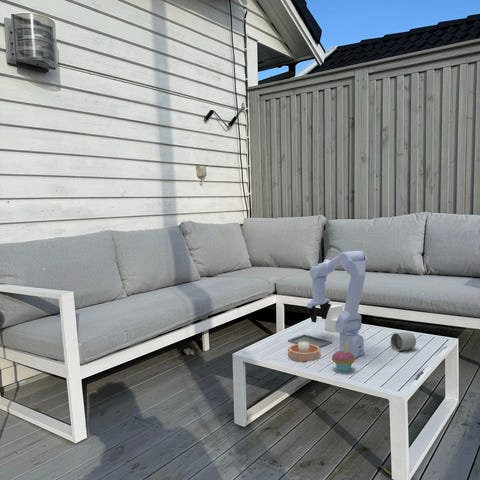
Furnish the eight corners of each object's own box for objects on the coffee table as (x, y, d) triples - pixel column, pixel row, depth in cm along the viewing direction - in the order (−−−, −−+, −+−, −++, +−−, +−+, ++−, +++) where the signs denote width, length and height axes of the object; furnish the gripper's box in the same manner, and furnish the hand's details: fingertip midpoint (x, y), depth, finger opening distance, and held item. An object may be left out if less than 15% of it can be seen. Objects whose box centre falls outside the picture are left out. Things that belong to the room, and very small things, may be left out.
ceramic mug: (417, 350, 192) (417, 332, 192) (402, 353, 189) (402, 335, 189) (400, 343, 202) (400, 327, 202) (385, 346, 199) (385, 329, 199)
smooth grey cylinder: (311, 354, 188) (311, 343, 187) (304, 357, 185) (304, 345, 184) (303, 352, 191) (303, 340, 191) (296, 354, 188) (295, 342, 188)
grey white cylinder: (334, 333, 220) (334, 309, 219) (321, 329, 227) (321, 305, 226) (347, 330, 225) (347, 306, 224) (334, 326, 232) (334, 303, 231)
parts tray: (332, 344, 203) (332, 341, 203) (315, 350, 195) (315, 347, 195) (304, 337, 215) (304, 334, 215) (287, 342, 207) (287, 339, 206)
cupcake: (358, 369, 173) (358, 338, 172) (348, 375, 167) (347, 344, 166) (338, 364, 179) (338, 334, 178) (327, 370, 172) (327, 339, 171)
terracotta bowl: (326, 356, 188) (326, 348, 187) (306, 364, 179) (306, 356, 179) (302, 349, 197) (302, 341, 197) (282, 356, 188) (282, 348, 188)
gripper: (321, 288, 215) (321, 315, 216) (302, 292, 205) (302, 321, 207) (333, 290, 210) (333, 318, 211) (314, 295, 200) (314, 324, 201)
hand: (319, 320), depth 209 cm, fingers open, 7 cm apart
